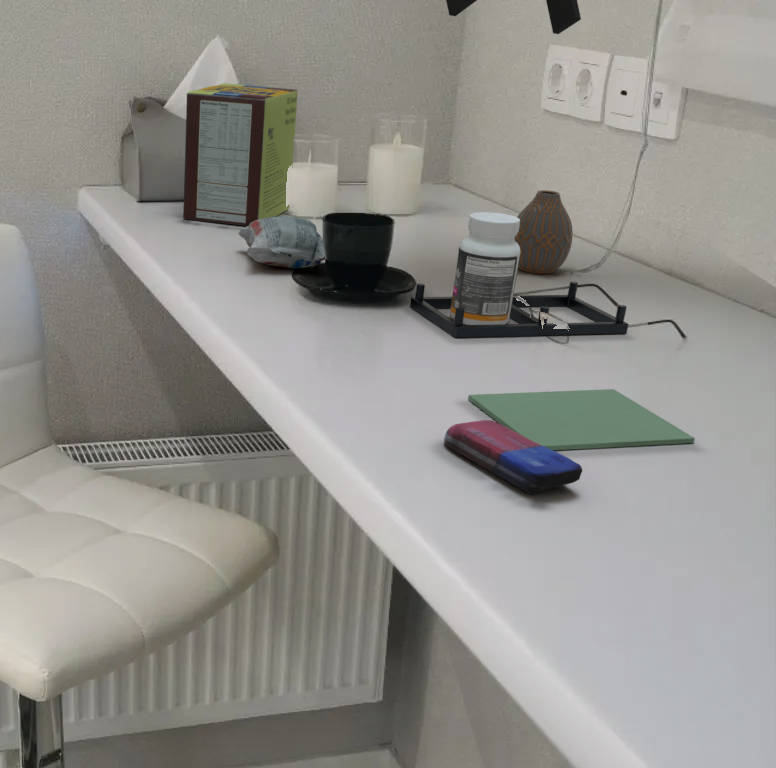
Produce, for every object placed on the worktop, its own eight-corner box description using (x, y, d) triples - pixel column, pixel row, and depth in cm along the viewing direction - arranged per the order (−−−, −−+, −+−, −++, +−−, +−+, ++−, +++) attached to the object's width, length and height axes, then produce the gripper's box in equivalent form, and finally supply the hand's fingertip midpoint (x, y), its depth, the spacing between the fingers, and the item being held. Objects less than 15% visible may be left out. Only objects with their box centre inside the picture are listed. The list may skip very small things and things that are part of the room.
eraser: (434, 442, 83) (436, 418, 82) (480, 435, 85) (483, 412, 84) (535, 500, 74) (539, 474, 73) (585, 492, 75) (590, 466, 75)
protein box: (290, 209, 161) (299, 88, 154) (258, 228, 147) (266, 98, 141) (218, 200, 163) (223, 82, 156) (180, 219, 150) (184, 90, 143)
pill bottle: (455, 309, 117) (469, 208, 112) (512, 318, 115) (529, 215, 110) (444, 323, 112) (458, 218, 107) (504, 332, 110) (521, 225, 106)
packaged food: (245, 274, 125) (249, 227, 123) (237, 249, 135) (240, 206, 133) (326, 278, 126) (331, 232, 124) (311, 253, 136) (315, 210, 134)
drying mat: (612, 393, 95) (613, 388, 95) (694, 443, 86) (695, 438, 86) (467, 399, 92) (468, 394, 92) (535, 451, 82) (536, 446, 82)
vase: (500, 261, 138) (512, 185, 134) (559, 265, 138) (572, 188, 134) (510, 275, 132) (523, 195, 128) (572, 279, 132) (586, 199, 128)
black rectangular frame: (569, 304, 121) (573, 280, 120) (626, 333, 112) (632, 308, 111) (409, 306, 117) (412, 282, 116) (455, 338, 107) (459, 311, 106)
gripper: (531, -153, 116) (575, 52, 114) (338, -212, 101) (385, 22, 100) (591, -204, 109) (638, 13, 108) (394, -275, 95) (446, -26, 94)
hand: (517, 17), depth 104 cm, fingers open, 13 cm apart
